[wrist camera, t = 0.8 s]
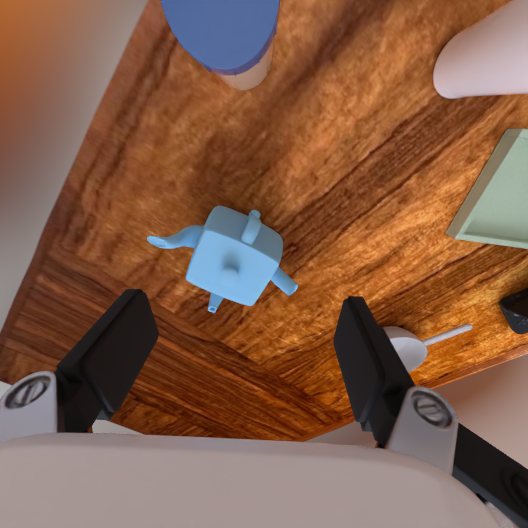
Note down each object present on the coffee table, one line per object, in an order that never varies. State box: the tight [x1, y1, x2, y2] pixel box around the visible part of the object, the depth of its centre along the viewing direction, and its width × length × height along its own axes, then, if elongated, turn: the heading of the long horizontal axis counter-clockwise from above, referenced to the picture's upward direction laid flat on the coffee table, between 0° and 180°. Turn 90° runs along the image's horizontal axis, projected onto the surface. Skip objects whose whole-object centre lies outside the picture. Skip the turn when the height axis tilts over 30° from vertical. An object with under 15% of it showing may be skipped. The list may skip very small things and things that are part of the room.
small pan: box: [382, 324, 472, 372], centre depth 40 cm, size 11×18×4 cm, turn 132°
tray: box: [445, 128, 528, 249], centre depth 27 cm, size 13×13×2 cm
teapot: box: [147, 206, 298, 313], centre depth 28 cm, size 18×14×10 cm
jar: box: [216, 40, 273, 90], centre depth 17 cm, size 6×6×11 cm
